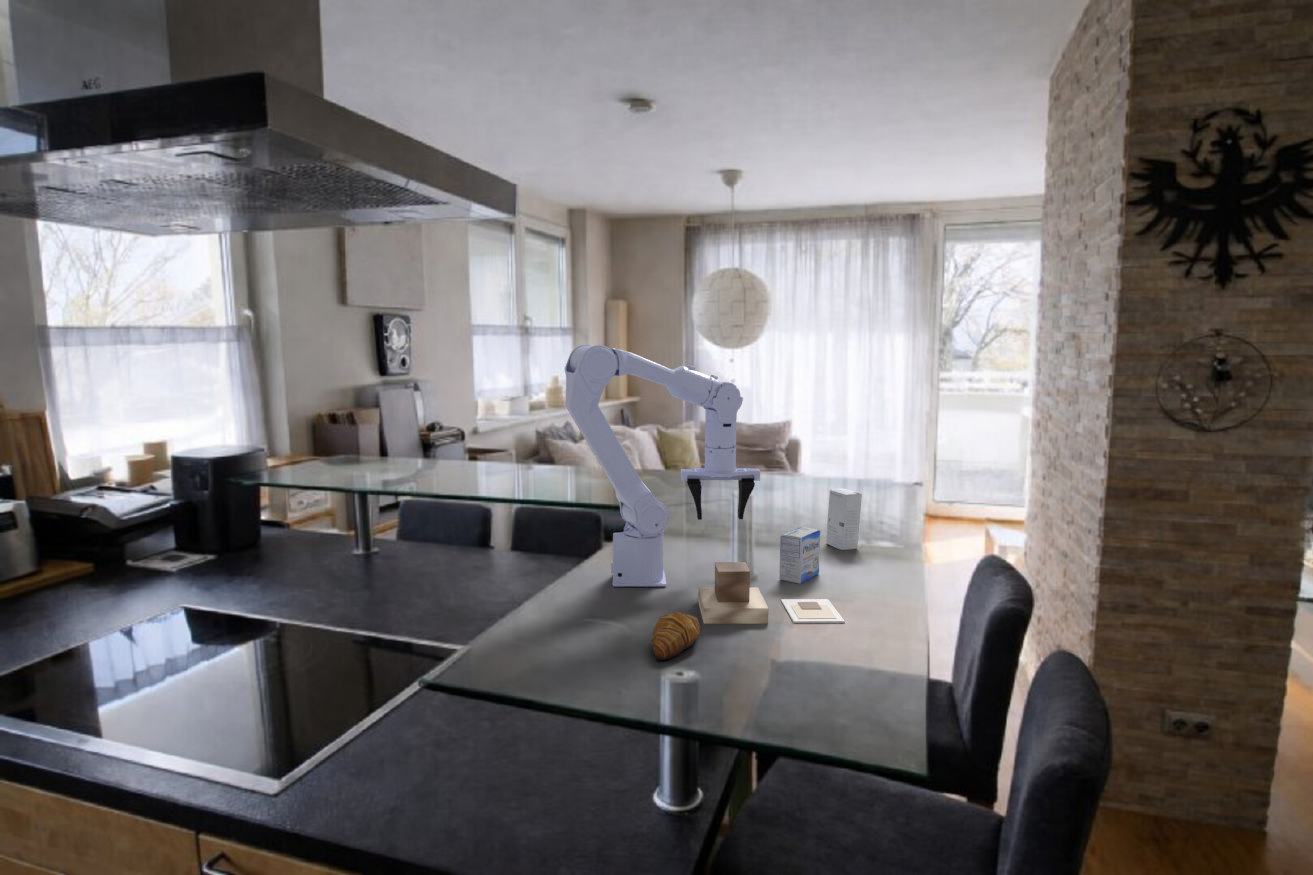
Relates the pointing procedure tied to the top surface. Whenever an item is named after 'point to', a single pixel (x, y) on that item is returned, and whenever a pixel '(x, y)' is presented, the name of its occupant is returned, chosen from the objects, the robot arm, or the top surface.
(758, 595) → the maple block
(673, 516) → the top surface
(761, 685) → the top surface
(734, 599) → the walnut cube
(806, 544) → the medicine box
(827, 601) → the picture card
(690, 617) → the croissant
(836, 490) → the skincare box
